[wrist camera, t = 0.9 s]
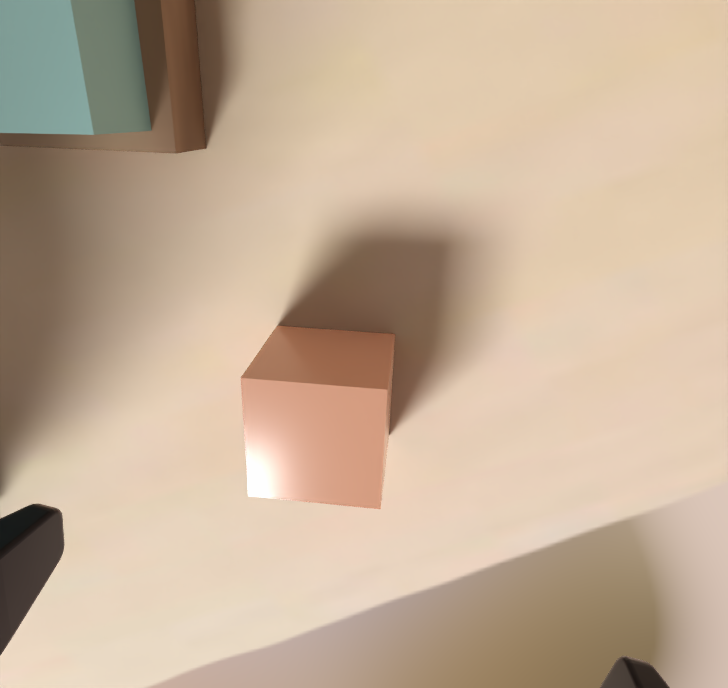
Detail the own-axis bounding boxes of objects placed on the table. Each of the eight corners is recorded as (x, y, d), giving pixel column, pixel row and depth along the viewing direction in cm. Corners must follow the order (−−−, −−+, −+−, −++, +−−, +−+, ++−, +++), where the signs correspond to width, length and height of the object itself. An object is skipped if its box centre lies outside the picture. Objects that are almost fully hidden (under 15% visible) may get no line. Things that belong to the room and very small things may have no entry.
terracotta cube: (281, 425, 22) (248, 496, 18) (277, 324, 21) (240, 377, 16) (388, 434, 22) (380, 509, 18) (395, 333, 20) (387, 389, 16)
